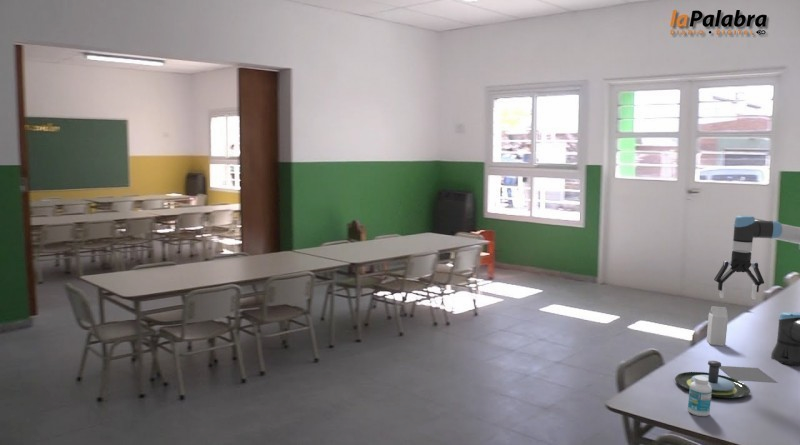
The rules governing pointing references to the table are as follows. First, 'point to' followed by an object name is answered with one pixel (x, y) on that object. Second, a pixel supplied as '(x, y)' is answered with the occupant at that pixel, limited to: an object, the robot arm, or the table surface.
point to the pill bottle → (700, 396)
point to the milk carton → (717, 326)
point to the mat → (746, 374)
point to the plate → (738, 391)
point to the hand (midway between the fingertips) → (737, 298)
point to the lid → (716, 378)
